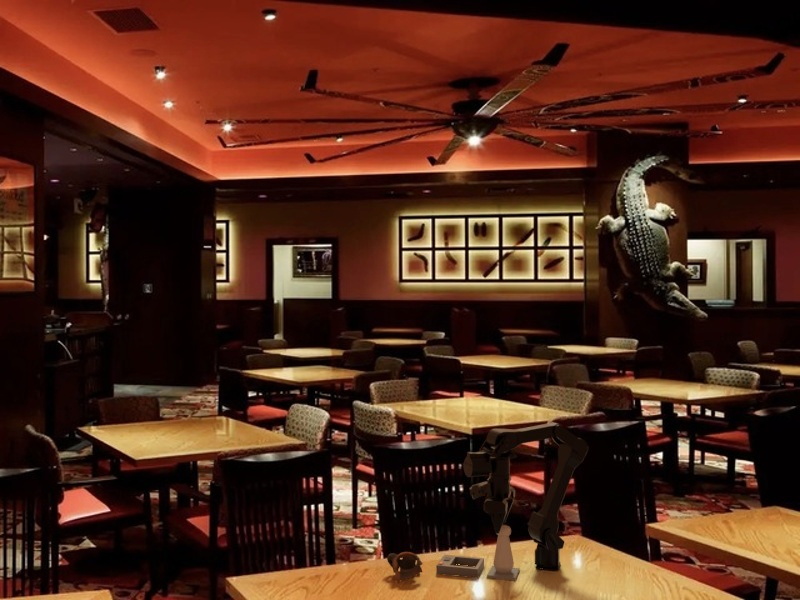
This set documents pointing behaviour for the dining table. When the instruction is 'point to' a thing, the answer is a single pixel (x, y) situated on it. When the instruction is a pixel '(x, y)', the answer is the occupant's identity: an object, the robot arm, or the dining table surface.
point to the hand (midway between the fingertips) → (499, 528)
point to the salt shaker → (503, 552)
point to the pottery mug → (404, 565)
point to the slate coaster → (509, 576)
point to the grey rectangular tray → (450, 561)
